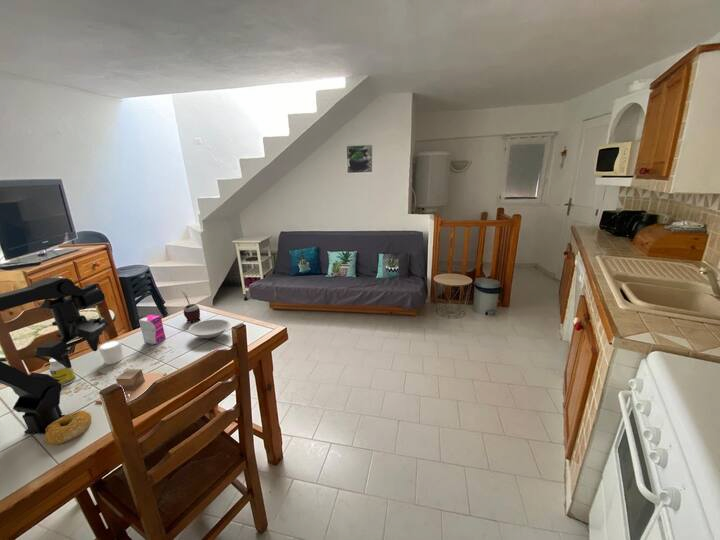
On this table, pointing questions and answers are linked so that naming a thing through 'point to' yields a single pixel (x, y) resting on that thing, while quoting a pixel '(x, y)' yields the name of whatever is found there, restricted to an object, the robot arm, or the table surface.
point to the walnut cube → (131, 379)
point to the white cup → (111, 351)
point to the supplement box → (152, 329)
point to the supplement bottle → (61, 372)
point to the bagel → (67, 427)
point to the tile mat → (148, 379)
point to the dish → (209, 328)
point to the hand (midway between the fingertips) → (82, 359)
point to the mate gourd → (191, 311)
